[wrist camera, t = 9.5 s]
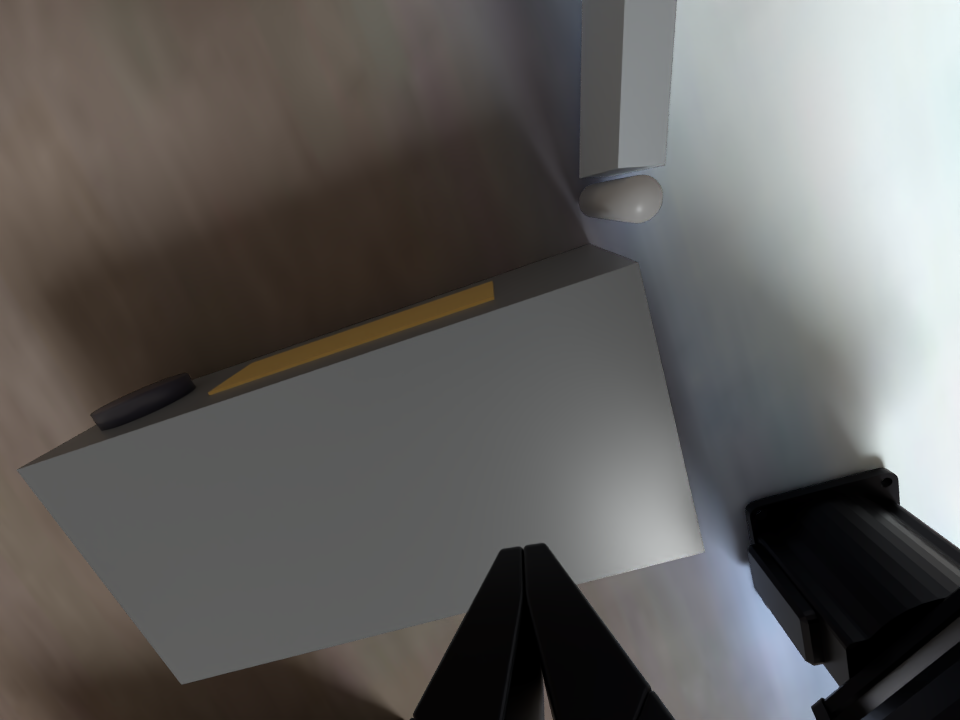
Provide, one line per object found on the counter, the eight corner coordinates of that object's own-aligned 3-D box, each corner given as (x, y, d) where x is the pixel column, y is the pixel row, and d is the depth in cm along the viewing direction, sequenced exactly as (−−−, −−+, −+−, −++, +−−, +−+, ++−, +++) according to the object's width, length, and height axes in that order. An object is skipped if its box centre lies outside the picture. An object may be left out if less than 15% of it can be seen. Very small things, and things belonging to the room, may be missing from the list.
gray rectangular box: (586, 228, 18) (633, 240, 12) (645, 457, 21) (704, 551, 15) (141, 382, 20) (4, 454, 14) (256, 567, 23) (181, 684, 18)
